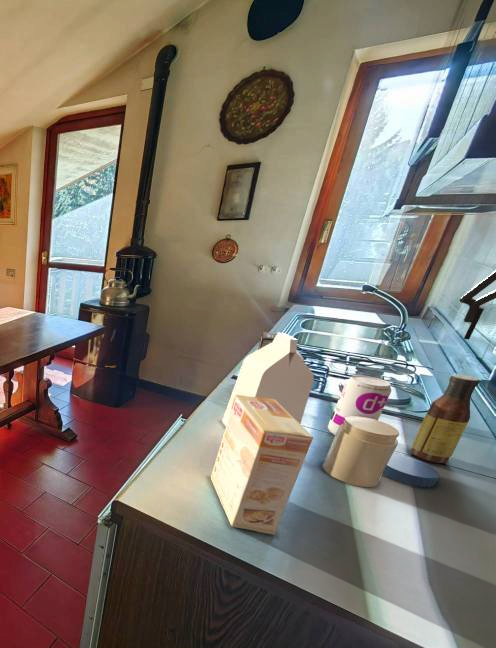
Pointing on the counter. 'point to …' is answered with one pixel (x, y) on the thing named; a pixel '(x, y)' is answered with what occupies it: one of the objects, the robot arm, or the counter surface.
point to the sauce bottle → (445, 421)
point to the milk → (275, 377)
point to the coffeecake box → (258, 463)
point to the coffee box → (266, 339)
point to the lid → (410, 471)
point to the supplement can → (360, 400)
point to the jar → (361, 451)
